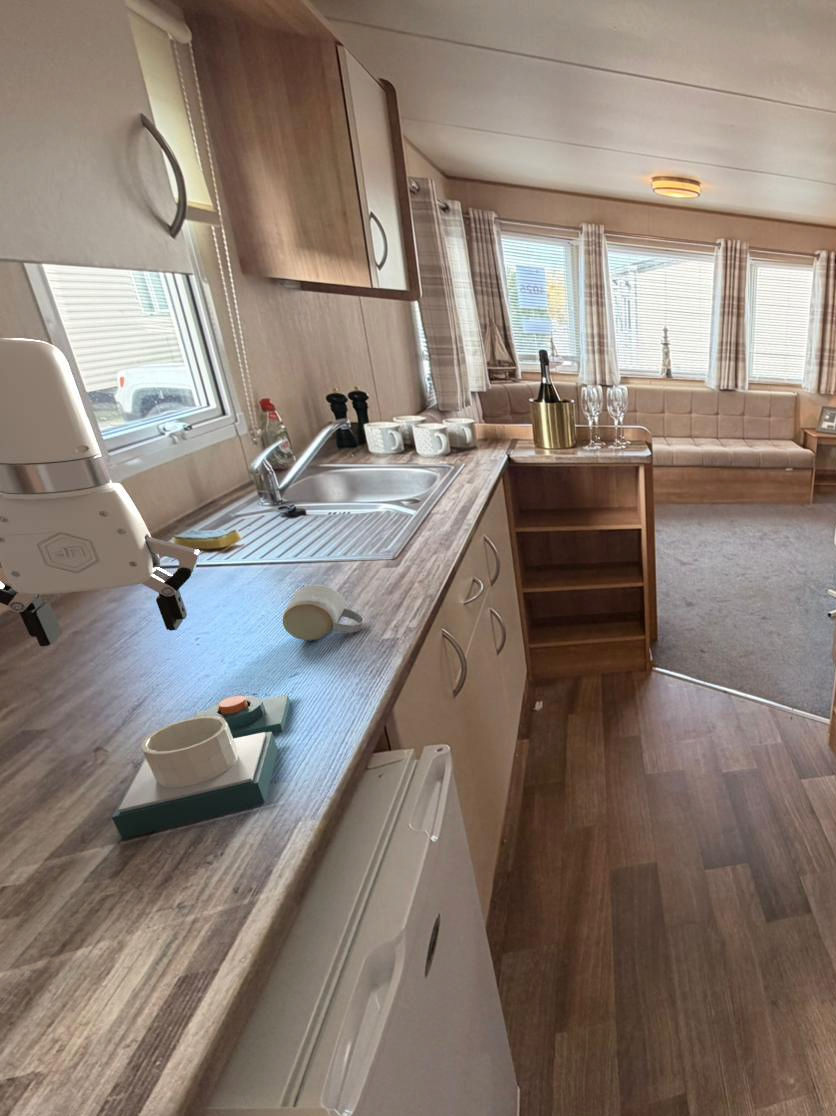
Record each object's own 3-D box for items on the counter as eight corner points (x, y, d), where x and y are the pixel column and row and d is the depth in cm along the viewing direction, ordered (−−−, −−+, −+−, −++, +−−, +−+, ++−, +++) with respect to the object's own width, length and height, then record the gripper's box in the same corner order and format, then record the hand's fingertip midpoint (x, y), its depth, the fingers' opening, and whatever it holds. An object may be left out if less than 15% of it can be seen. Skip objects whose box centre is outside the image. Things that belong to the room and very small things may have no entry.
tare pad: (184, 753, 80) (176, 733, 79) (199, 720, 87) (192, 701, 85) (283, 732, 85) (276, 713, 84) (290, 702, 91) (284, 684, 90)
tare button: (219, 717, 83) (215, 709, 82) (223, 707, 85) (220, 698, 85) (246, 712, 84) (243, 703, 84) (250, 702, 87) (247, 693, 86)
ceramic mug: (285, 646, 106) (273, 604, 103) (299, 625, 113) (288, 585, 110) (360, 638, 110) (351, 597, 107) (369, 619, 117) (360, 580, 114)
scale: (121, 839, 67) (109, 814, 66) (152, 778, 76) (142, 755, 74) (265, 803, 73) (256, 779, 72) (278, 750, 82) (270, 728, 80)
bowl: (147, 795, 69) (131, 760, 67) (166, 758, 74) (151, 725, 72) (232, 776, 72) (219, 742, 70) (243, 742, 78) (232, 710, 76)
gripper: (-110, 490, 55) (-21, 664, 61) (160, 479, 63) (212, 633, 70) (-61, 471, 60) (16, 631, 67) (181, 463, 69) (227, 607, 75)
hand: (116, 632), depth 68 cm, fingers open, 9 cm apart
